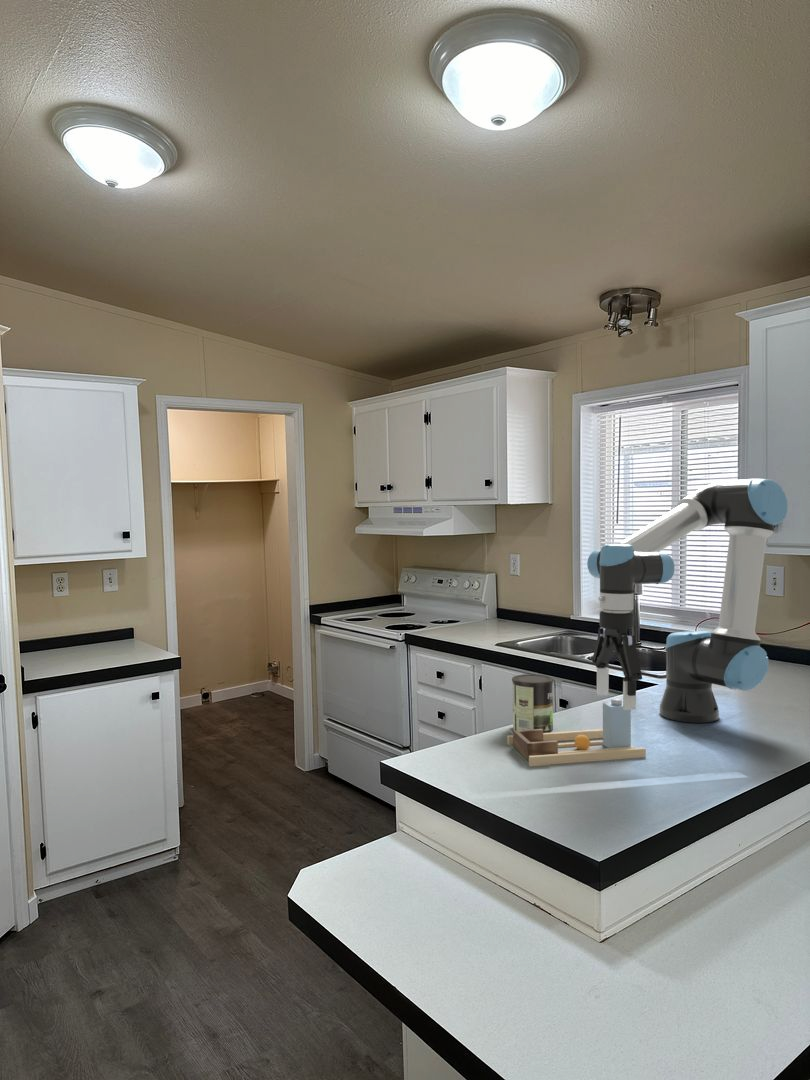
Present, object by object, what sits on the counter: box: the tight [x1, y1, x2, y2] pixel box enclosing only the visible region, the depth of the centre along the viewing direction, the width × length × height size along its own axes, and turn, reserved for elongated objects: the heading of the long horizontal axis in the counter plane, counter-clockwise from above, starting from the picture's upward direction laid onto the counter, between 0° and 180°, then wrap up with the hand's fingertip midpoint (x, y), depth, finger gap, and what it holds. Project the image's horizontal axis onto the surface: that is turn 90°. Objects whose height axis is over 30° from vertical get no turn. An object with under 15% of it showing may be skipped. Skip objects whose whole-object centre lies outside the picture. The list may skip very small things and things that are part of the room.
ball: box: [574, 735, 591, 750], centre depth 168 cm, size 4×4×4 cm
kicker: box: [602, 698, 632, 748], centre depth 169 cm, size 5×4×11 cm
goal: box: [512, 729, 559, 762], centre depth 166 cm, size 7×10×4 cm
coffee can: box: [511, 673, 554, 733], centre depth 185 cm, size 10×10×14 cm
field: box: [506, 728, 647, 767], centre depth 168 cm, size 27×16×3 cm, turn 100°
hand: (615, 702), depth 169 cm, fingers open, 13 cm apart
